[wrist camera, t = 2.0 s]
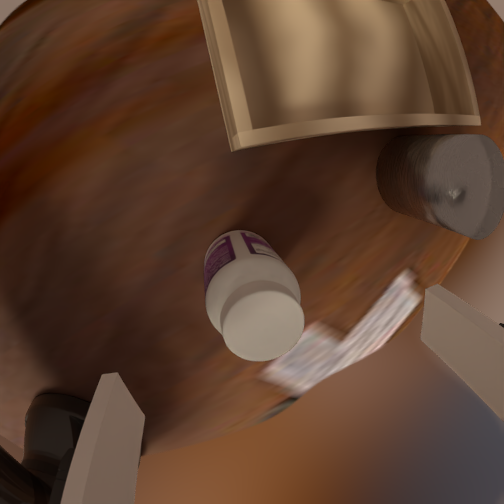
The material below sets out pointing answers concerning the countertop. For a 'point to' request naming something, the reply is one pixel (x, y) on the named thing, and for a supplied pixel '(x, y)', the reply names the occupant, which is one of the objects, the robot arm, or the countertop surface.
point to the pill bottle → (252, 296)
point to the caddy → (335, 67)
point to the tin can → (444, 181)
